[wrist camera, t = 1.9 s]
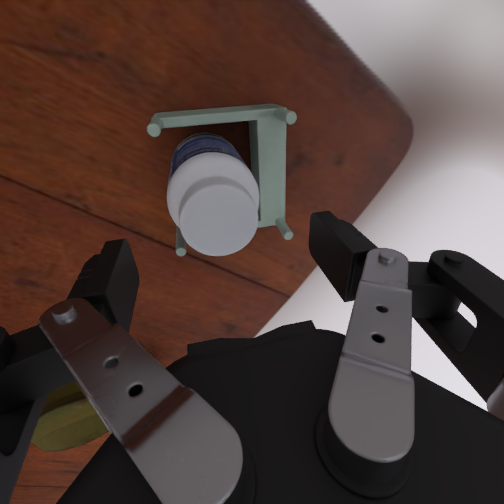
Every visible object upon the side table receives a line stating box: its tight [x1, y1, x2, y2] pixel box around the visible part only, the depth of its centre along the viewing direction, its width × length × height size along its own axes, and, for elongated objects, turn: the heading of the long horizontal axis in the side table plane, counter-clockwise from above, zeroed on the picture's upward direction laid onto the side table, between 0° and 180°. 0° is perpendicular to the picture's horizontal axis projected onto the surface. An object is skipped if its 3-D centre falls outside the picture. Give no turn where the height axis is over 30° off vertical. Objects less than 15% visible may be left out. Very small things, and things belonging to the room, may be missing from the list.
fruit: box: [30, 381, 108, 451], centre depth 29 cm, size 11×12×7 cm
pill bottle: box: [167, 133, 260, 256], centre depth 18 cm, size 5×5×10 cm
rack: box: [147, 103, 297, 256], centre depth 20 cm, size 9×8×5 cm
